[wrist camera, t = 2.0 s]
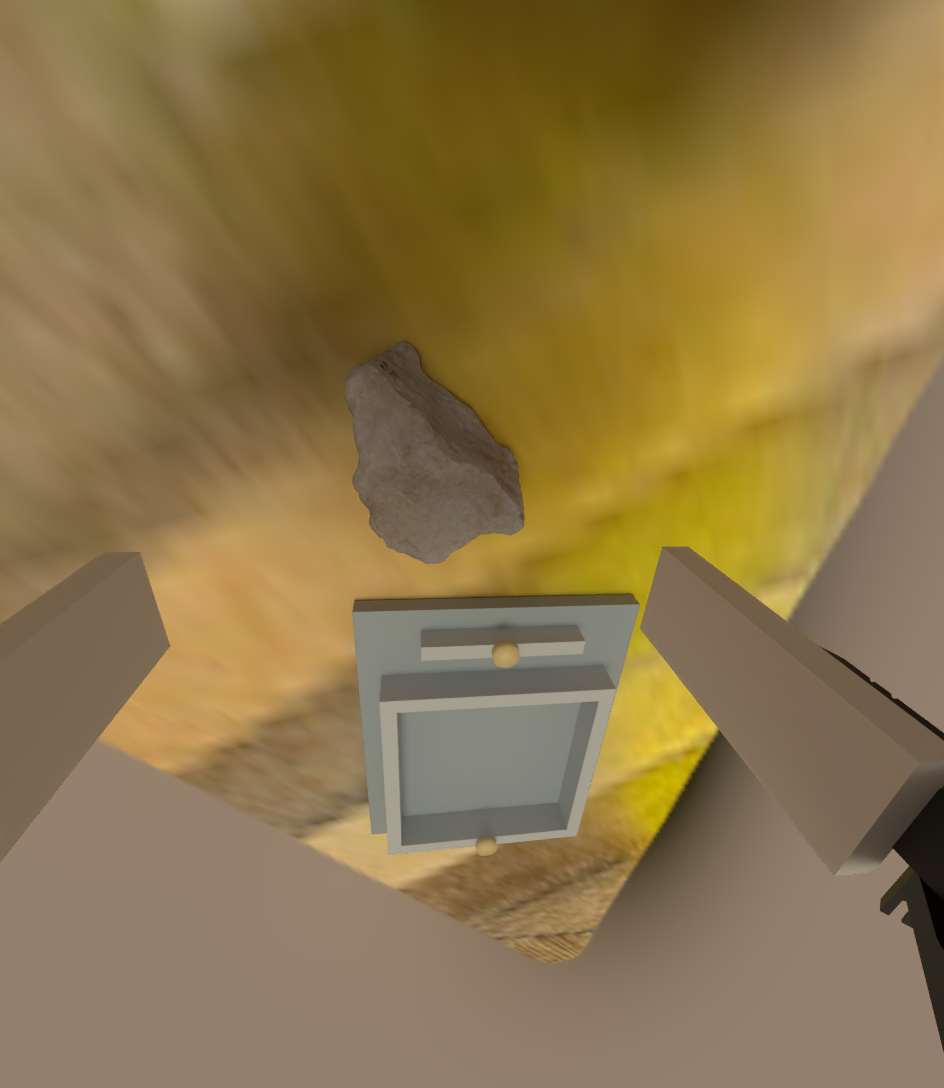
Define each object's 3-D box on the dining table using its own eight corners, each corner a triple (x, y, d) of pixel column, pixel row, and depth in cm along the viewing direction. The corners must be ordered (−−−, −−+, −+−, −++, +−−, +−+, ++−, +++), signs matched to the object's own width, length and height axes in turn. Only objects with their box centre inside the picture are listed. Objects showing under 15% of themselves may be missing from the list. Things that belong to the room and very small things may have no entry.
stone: (411, 557, 25) (408, 614, 20) (295, 411, 21) (253, 435, 16) (529, 485, 24) (558, 525, 19) (431, 316, 20) (434, 307, 15)
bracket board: (354, 600, 26) (345, 643, 22) (631, 594, 28) (662, 631, 25) (373, 819, 36) (368, 873, 32) (577, 800, 38) (594, 849, 34)
